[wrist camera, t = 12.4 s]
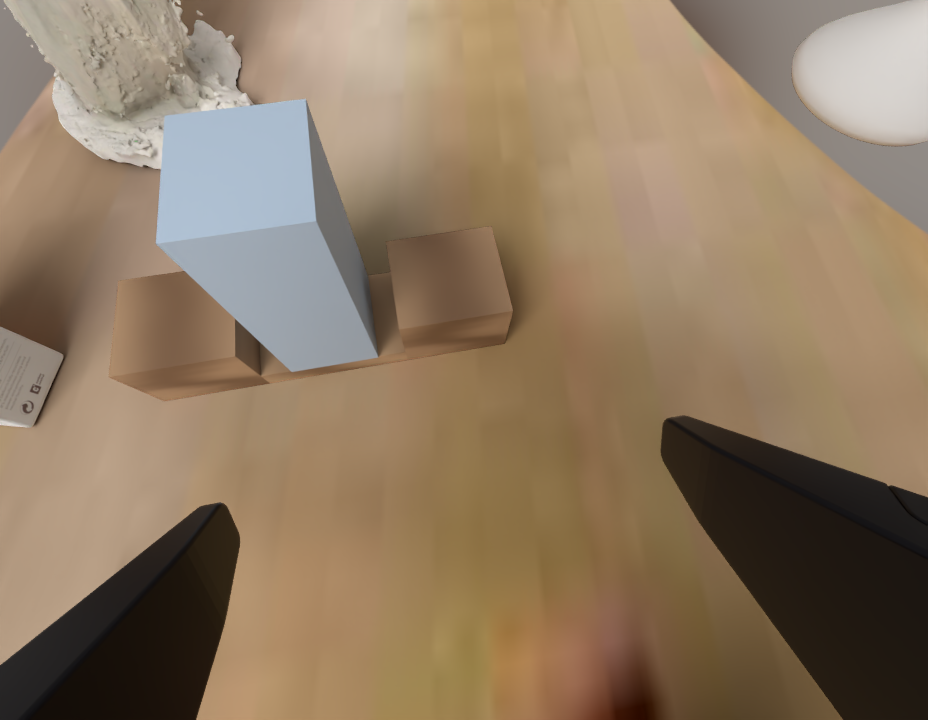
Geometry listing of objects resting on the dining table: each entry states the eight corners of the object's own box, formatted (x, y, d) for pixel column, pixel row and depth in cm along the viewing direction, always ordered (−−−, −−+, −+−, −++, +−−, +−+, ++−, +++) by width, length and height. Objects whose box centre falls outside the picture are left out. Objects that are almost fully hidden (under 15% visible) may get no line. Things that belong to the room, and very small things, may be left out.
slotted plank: (486, 268, 27) (491, 225, 23) (504, 343, 25) (513, 310, 21) (168, 317, 25) (118, 280, 21) (164, 401, 23) (108, 377, 20)
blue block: (378, 357, 23) (316, 221, 13) (291, 371, 23) (156, 243, 12) (368, 276, 25) (305, 98, 15) (287, 288, 24) (164, 115, 14)
